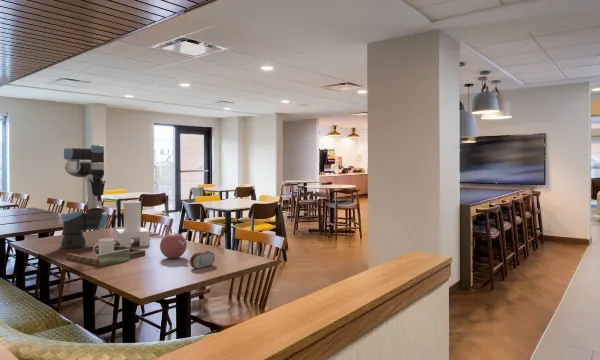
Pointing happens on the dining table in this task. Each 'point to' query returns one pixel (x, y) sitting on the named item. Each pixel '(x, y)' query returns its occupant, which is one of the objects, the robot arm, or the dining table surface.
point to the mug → (105, 246)
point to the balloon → (173, 245)
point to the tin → (202, 259)
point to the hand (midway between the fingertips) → (98, 205)
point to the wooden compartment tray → (109, 256)
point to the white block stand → (132, 226)
